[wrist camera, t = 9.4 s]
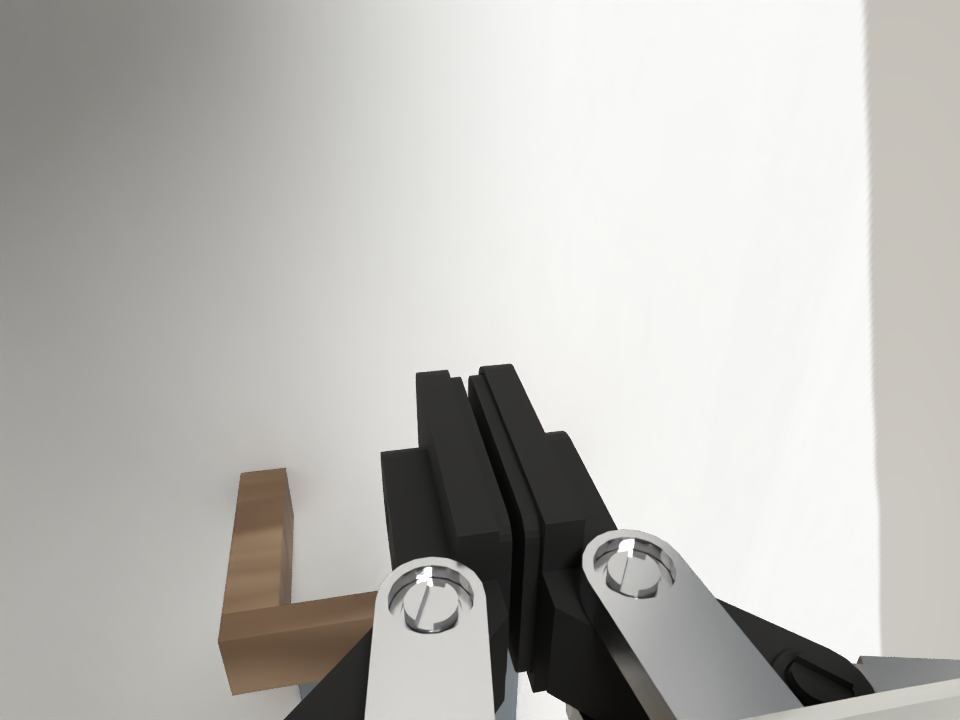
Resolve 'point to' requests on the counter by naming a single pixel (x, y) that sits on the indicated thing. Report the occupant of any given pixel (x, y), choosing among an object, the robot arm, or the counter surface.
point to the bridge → (278, 599)
